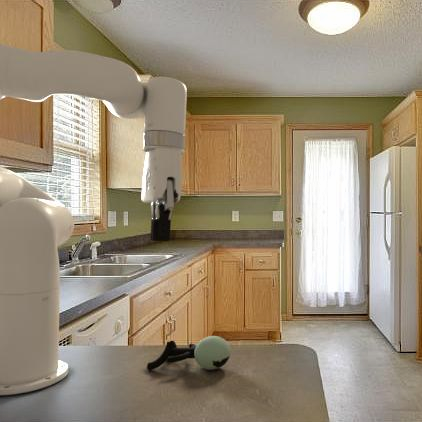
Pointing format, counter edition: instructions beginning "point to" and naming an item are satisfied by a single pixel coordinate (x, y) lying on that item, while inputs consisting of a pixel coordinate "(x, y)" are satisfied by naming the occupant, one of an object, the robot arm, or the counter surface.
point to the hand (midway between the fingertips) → (160, 240)
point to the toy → (196, 353)
